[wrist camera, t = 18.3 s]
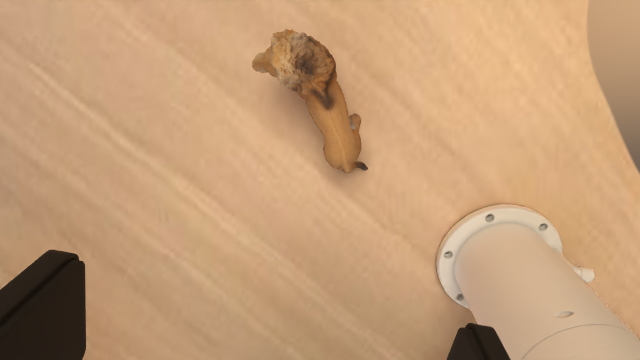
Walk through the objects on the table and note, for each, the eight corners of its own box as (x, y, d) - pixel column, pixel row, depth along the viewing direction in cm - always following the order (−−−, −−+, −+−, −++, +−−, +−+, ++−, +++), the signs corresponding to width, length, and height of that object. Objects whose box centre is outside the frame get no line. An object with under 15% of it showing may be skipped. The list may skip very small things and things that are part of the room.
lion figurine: (257, 47, 36) (236, 57, 28) (308, 12, 35) (303, 11, 27) (344, 180, 41) (348, 223, 33) (392, 152, 40) (409, 189, 32)
